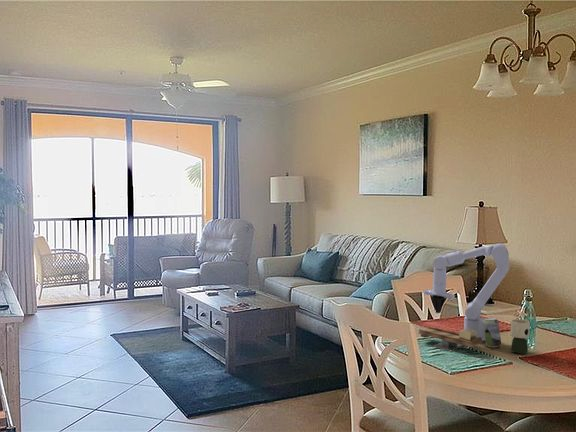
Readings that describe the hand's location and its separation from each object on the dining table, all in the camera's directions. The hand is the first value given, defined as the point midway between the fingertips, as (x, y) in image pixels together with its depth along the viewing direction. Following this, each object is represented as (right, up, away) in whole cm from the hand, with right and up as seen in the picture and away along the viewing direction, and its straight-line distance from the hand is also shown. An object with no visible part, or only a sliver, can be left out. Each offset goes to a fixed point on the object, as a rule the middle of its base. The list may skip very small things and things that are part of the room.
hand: (438, 312), depth 251 cm
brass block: (+6, -7, -23) cm, 25 cm away
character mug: (+26, -12, -25) cm, 38 cm away
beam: (0, -9, -17) cm, 19 cm away
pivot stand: (0, -11, -16) cm, 20 cm away
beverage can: (+18, -12, -16) cm, 27 cm away
